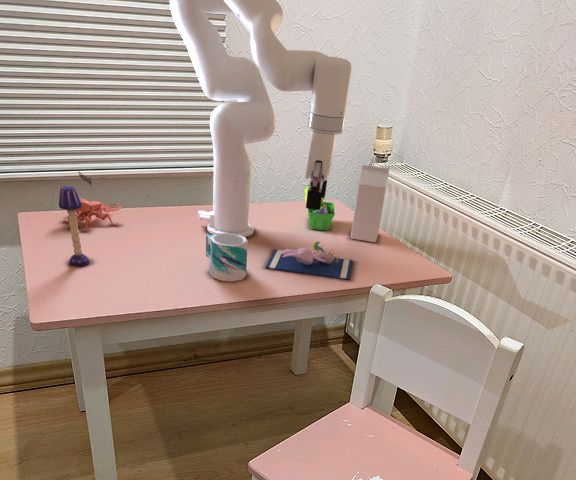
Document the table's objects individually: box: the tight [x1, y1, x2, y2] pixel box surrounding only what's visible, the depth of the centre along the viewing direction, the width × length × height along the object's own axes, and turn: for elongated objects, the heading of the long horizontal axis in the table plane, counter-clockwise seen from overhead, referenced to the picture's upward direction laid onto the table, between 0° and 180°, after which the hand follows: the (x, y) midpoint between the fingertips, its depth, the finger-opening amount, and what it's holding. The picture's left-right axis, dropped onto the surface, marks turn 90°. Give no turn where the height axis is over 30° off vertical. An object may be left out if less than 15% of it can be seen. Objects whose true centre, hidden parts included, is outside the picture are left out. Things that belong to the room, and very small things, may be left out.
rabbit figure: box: [280, 241, 340, 265], centre depth 138 cm, size 6×6×15 cm
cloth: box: [265, 248, 354, 281], centre depth 141 cm, size 20×12×1 cm, turn 81°
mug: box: [205, 233, 249, 282], centre depth 131 cm, size 8×12×8 cm
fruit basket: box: [304, 184, 336, 231], centre depth 163 cm, size 11×9×11 cm
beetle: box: [62, 170, 123, 233], centre depth 149 cm, size 15×12×13 cm
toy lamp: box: [58, 185, 90, 267], centre depth 126 cm, size 5×5×17 cm
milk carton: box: [350, 164, 390, 243], centre depth 156 cm, size 7×7×19 cm
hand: (315, 202), depth 133 cm, fingers open, 9 cm apart
